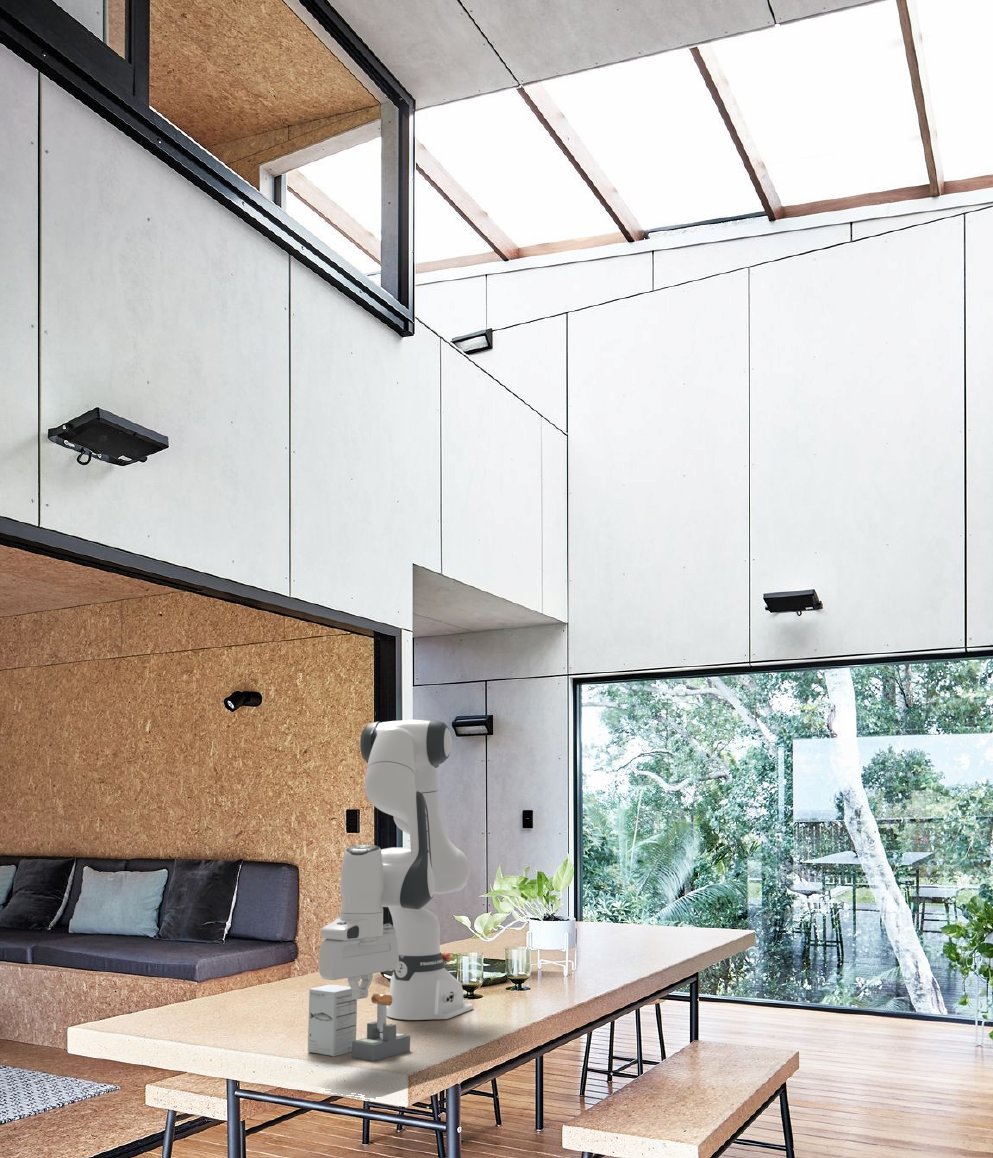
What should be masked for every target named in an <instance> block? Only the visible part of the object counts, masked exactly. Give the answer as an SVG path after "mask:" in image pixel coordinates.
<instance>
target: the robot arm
mask: <svg viewBox="0 0 993 1158" xmlns="http://www.w3.org/2000/svg"><path fill="white" fill-rule="evenodd" d="M452 744H453V739H452V734H451V731H450V728H449V726H448V725H447V724H446V723H445V722H444V721H440V720H436V719H431V720H426V719H413V718H412V719H409V718H406V719H403V720H401V719H400V720H399V719H398V720H391V721H382V722H381V721H375V722H370V723H368V724H367V725H366V726H365V727H363V729H362V731H361V734H360V739H359V749H360V754H361V757H362V760H364V761H365V762H366V763H367V767H366V769H365V770H366V771H365V778H364V792H365V795H366V797H367V799H368V801H369V802H370V804H372V805H373V806H374V808H376V809H378V810H379V811H381V812H382V813H385V814H388V815H389V816H392V817H393V821H394V823H395V825H396V826H397V828H398V829H399V830H400V831H402V832H404V833H406V834H408V835H409V842H410V844H409V845H410V846H409V847H399V846H398V847H395V846H394V847H387V848H382V849H381V847H380V846H378V845H374V844H369V843H367V844H364V843H363V844H357V845H356V844H355V845H352V846H349V847H348V848H347V847H346V849H345V850H344V853H343V857H342V858H343V859H342V863H341V873H340V886H339V887H340V888H339V889H340V895H341V905H340V908H339V917H337V918H336V919H334V920H333V921H331V922H329V924H326V925H325V926H323V927H322V928H321V929H320V937H321V939H324V940H323V941H322V942H321V944H320V948H319V956H318V957H319V961H318V962H319V964H318V973H319V975H320V977H321V979H322V980H326V981H337V980H342V979H343V980H344V979H347V983H348V985H349V987H351V990H352V998H353V999H357V1000H361V999H366V998H368V997H369V988H370V986H371V984H372V982H373V976H374V975H373V974H376V973H377V974H378V973H382V972H389V971H393V973H392V975H391V977H390V983H389V984H390V985H389V993H388V995H391V996H392V1004H391V1005H390V1006H387V1005H386V1017H388V1018H391V1019H396V1020H403V1021H405V1020H406V1021H422V1020H423V1021H424V1020H448V1019H452V1018H453V1017H456V1016H458V1015H461V1014H464V1013H466V1012H469V1011H471V1010H473V1009H474V1005H473V1004H472V1003H469V1002H466V1001H464V991H463V986H462V983H461V982H460V981H459V980H458V979H457V978H456V977H455V976H454V975H452V974H451V973H450V972H449V971H448V970H447V969H446V964H445V962H447V963H450V962H451V960H452V954H451V953H450V952H446V953H445V952H441V923H440V921H439V918H438V917H437V915H436V914H435V913H433V911H430V910H429V909H427V908H425V906H426V905H427V904H428V903H429V902H430V901H431V900H432V899H433V897H434V895H435V894H436V895H445V894H450V893H455V892H459V891H462V890H463V889H464V888H465V887H466V885H467V883H468V882H469V879H470V874H471V867H470V862H469V860H468V858H467V856H466V854H465V853H464V852H463V851H462V850H461V849H459V848H458V847H457V846H455V845H454V844H453V842H452V841H451V840H450V839H449V837H448V836H447V834H446V832H445V830H444V828H443V825H442V821H441V815H440V803H439V783H438V781H439V780H438V772H437V768H439V766H440V765H441V764H443V763H445V761H447V759H449V756H450V754H451V750H452ZM384 908H388V909H389V910H388V911H389V913H390V915H391V919H392V924H391V923H385V924H384ZM360 981H361V982H360ZM359 982H360V983H359Z"/></svg>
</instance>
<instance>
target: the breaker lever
mask: <svg viewBox="0 0 993 1158" xmlns="http://www.w3.org/2000/svg"><path fill="white" fill-rule="evenodd" d="M370 999H371V1000H370V1001H371V1003H372V1004H374V1005H376V1011H377V1013H376V1018H377V1019H376V1022H377V1028H376V1032H377V1033H380V1034H383V1026H385V1025H387V1015H386V1014H387V1012H386V1006H390V1005H391V1004H392V996H391V995H389V994H383V993H373V994H372V996H371V997H370Z"/></svg>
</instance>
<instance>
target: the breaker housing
mask: <svg viewBox="0 0 993 1158" xmlns="http://www.w3.org/2000/svg"><path fill="white" fill-rule="evenodd" d="M376 1028H377V1021H371V1022H367V1023H366V1037H364V1038H361V1039H356V1041H352V1051H351V1058H355V1059H359V1060H360V1059H361V1060H365V1061H372V1062H376V1061H380V1060H383V1059H387V1058H389V1057H395V1056H397V1055H400V1054H401V1055H402V1054H404V1053H407V1052H410V1051H411V1035H409V1034H402V1033H397V1024H396V1023H395V1024H393V1023H389V1024H386V1025H385V1026H383V1034H382V1033H377V1032H376Z"/></svg>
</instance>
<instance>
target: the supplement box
mask: <svg viewBox="0 0 993 1158" xmlns="http://www.w3.org/2000/svg"><path fill="white" fill-rule="evenodd" d="M308 992H309V993H308V1002H309V1003H308V1025H307V1027H308V1028H307V1029H308V1031H307V1033H308V1034H307V1053H313V1054H320V1055H324V1056H325V1055H326V1056H331V1057H338V1056H340V1055H344V1054H348V1053H352V1041H356V1040H357V1023H358V1022H357V1020H358V1017H357V1014H358V999H353V998H352V990H351V987H350V986H346V985H342V984H341V985H340V984H324V985H322V986H316V987H313V988H309V991H308Z"/></svg>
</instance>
